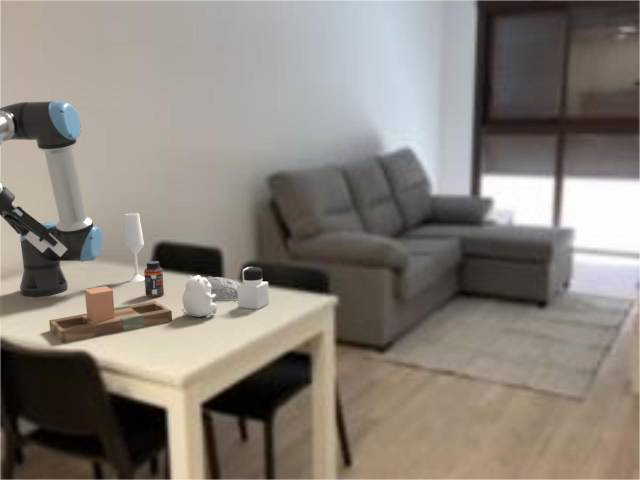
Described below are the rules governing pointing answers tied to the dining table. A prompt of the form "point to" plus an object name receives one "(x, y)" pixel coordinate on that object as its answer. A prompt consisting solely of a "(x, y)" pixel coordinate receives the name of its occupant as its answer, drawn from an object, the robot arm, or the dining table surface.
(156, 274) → the supplement bottle
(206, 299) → the figurine
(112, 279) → the dining table surface
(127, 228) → the champagne flute
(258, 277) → the medicine bottle
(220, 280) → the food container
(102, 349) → the dining table surface
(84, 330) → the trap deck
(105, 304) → the block
